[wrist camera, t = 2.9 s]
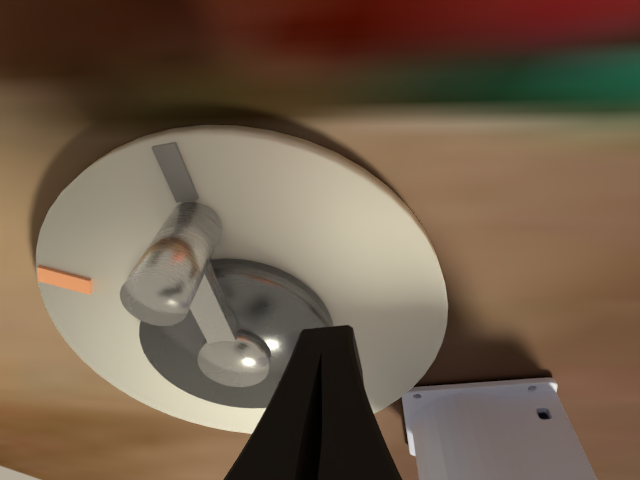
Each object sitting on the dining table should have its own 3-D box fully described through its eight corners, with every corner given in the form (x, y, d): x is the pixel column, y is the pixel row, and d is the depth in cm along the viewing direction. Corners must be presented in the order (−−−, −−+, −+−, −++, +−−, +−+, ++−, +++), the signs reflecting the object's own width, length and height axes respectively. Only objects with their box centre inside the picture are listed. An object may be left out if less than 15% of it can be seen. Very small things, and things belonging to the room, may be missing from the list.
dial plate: (435, 79, 16) (442, 89, 15) (448, 408, 28) (452, 427, 27) (-44, 168, 19) (-69, 182, 18) (153, 427, 32) (146, 445, 31)
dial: (347, 379, 25) (347, 465, 21) (191, 391, 26) (162, 473, 22) (297, 185, 17) (282, 258, 13) (84, 217, 19) (11, 292, 15)
